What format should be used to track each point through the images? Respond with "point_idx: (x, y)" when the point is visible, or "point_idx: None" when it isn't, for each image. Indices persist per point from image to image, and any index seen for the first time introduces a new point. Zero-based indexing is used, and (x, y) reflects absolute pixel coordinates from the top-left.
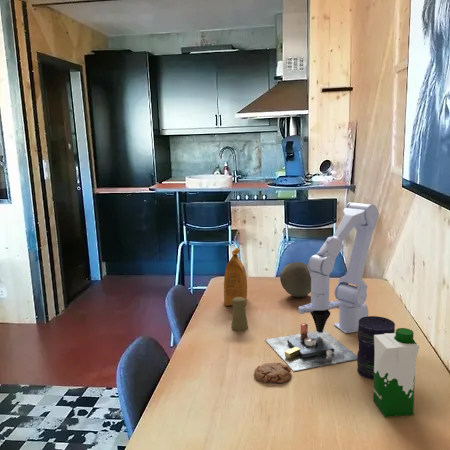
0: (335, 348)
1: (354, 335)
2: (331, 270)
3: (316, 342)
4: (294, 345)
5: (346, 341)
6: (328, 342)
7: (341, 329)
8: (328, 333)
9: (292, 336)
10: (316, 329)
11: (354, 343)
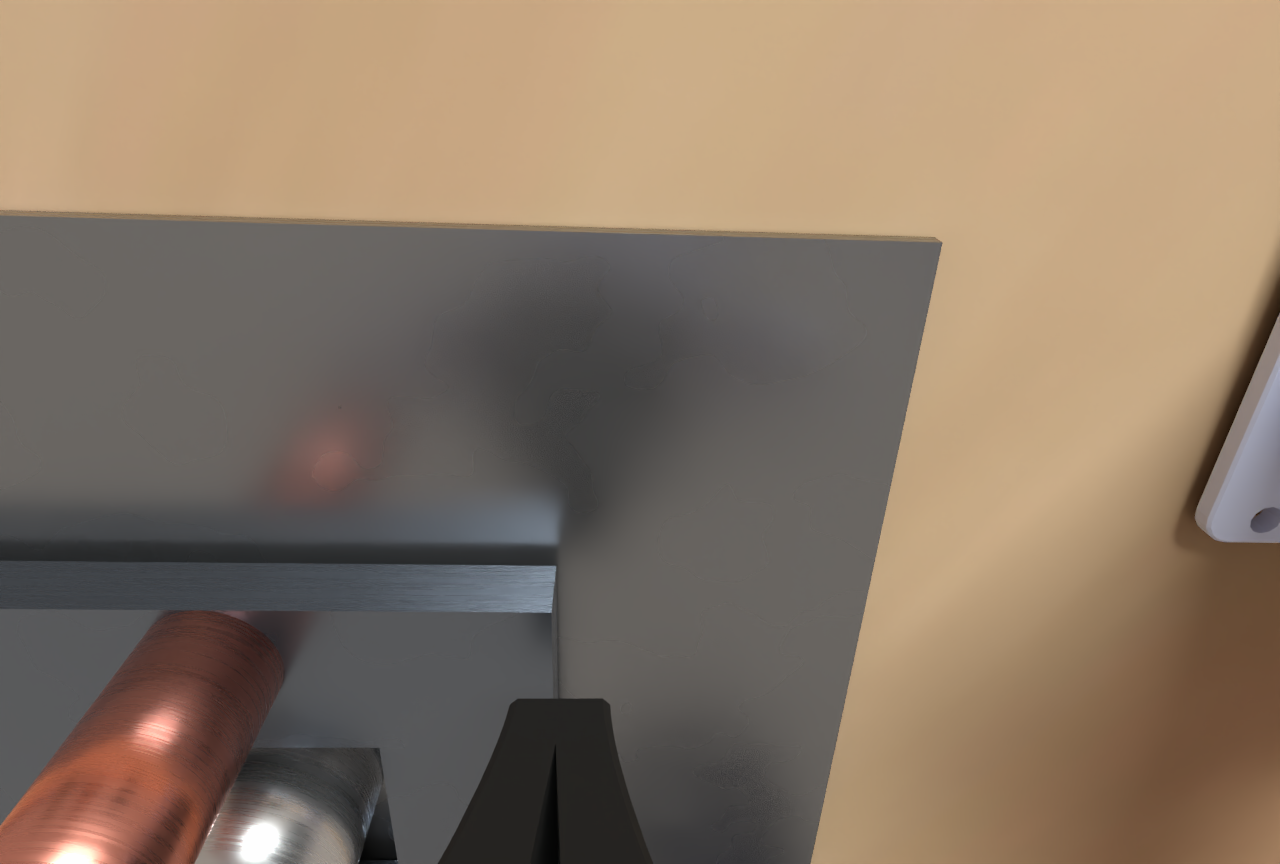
0: (651, 857)
1: (1250, 608)
2: None
3: (392, 823)
4: None
5: (962, 722)
6: (667, 708)
7: (1257, 403)
8: (899, 437)
9: (72, 291)
10: (506, 727)
11: (1012, 792)
